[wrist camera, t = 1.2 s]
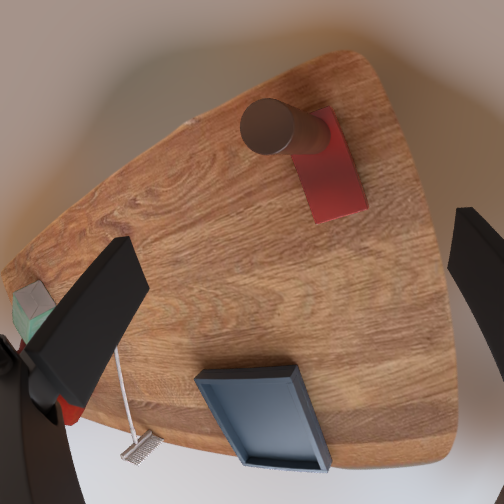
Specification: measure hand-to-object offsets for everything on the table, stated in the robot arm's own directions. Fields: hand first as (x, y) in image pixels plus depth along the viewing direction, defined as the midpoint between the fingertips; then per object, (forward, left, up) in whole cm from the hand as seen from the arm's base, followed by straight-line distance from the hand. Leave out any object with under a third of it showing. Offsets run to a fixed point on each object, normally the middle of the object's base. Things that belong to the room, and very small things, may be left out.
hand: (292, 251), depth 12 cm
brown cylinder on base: (+2, -2, -16) cm, 16 cm away
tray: (+1, +30, -16) cm, 34 cm away
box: (+53, +38, -16) cm, 67 cm away
